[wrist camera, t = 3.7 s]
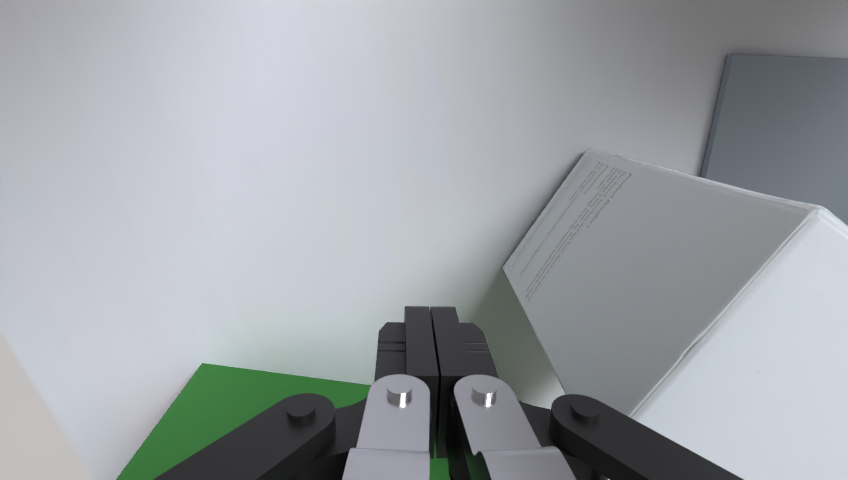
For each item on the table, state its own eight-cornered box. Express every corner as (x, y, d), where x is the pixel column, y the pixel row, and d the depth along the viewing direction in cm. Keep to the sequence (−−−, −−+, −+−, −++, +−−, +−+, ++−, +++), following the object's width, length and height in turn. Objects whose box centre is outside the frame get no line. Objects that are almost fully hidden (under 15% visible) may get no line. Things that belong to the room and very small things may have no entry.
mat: (727, 54, 20) (733, 54, 20) (1014, 66, 21) (1026, 66, 20) (662, 348, 25) (666, 352, 24) (900, 348, 25) (907, 352, 25)
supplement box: (610, 336, 24) (805, 579, 12) (497, 266, 23) (586, 459, 11) (707, 223, 22) (1055, 376, 10) (589, 140, 21) (825, 200, 9)
